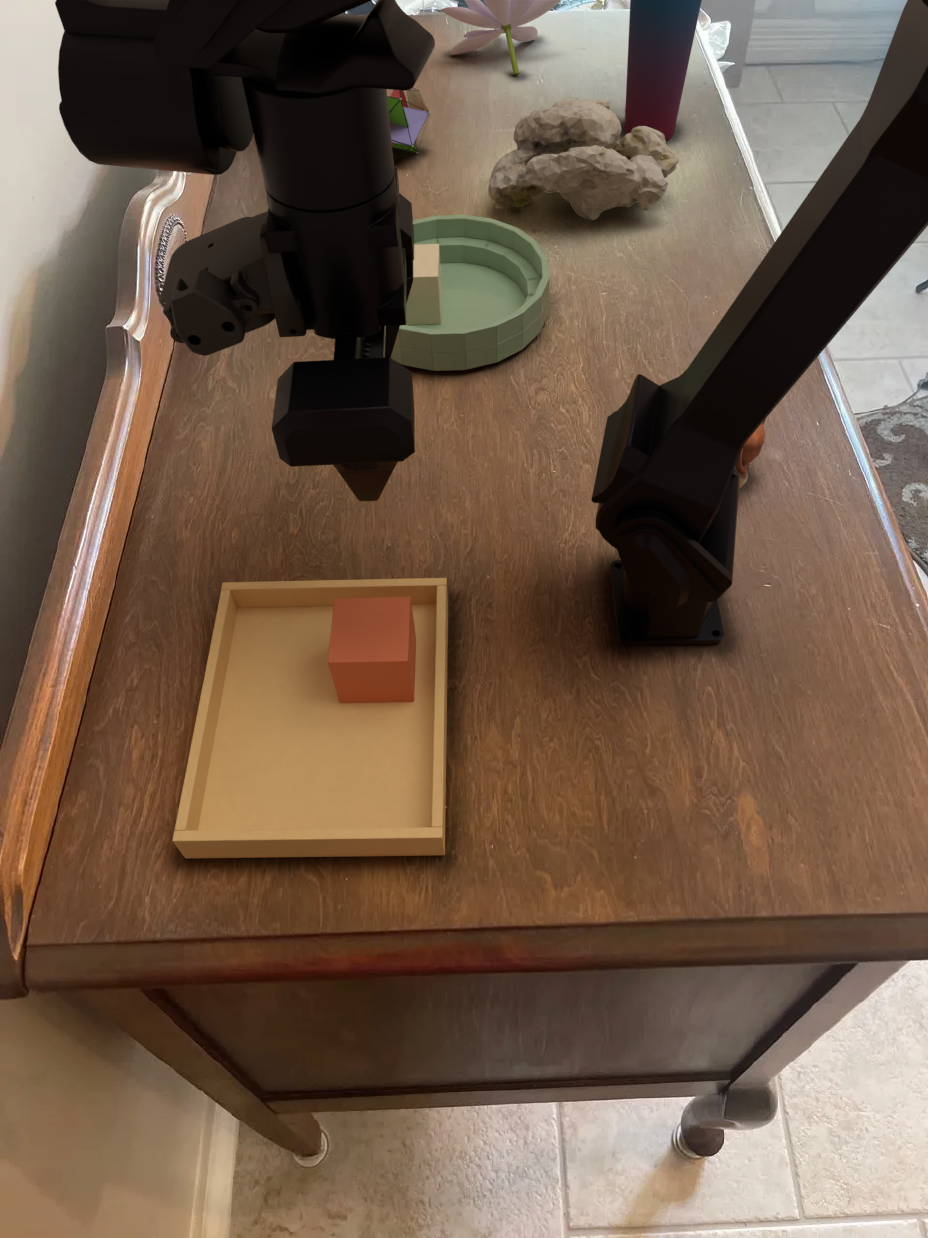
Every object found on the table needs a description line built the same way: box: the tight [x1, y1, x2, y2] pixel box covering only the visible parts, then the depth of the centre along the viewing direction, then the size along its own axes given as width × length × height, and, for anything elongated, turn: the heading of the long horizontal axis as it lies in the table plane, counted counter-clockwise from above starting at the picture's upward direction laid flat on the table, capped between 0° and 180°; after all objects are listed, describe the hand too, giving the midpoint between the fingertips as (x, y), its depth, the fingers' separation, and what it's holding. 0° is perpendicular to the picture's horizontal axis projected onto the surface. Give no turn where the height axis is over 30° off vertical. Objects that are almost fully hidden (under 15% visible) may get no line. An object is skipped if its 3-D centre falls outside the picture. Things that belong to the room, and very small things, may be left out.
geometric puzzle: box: [387, 86, 431, 163], centre depth 90 cm, size 7×7×8 cm
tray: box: [171, 577, 449, 859], centre depth 54 cm, size 17×14×2 cm
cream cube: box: [406, 244, 442, 325], centre depth 75 cm, size 4×4×4 cm
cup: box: [623, 0, 703, 142], centre depth 88 cm, size 7×7×15 cm
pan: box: [391, 214, 551, 372], centre depth 76 cm, size 16×16×4 cm
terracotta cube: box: [328, 597, 416, 703], centre depth 54 cm, size 4×4×4 cm
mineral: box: [487, 97, 679, 221], centre depth 83 cm, size 12×17×10 cm
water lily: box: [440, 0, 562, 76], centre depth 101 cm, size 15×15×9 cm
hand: (370, 440), depth 53 cm, fingers open, 9 cm apart
